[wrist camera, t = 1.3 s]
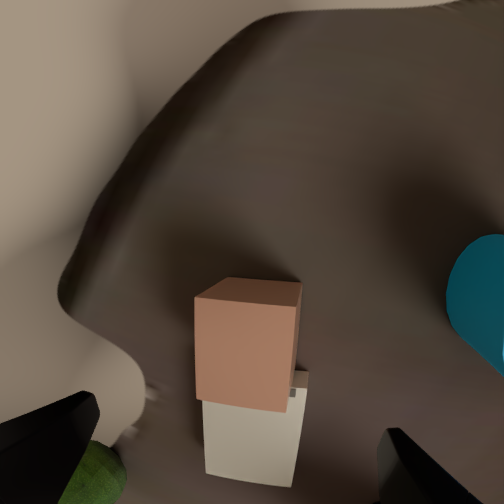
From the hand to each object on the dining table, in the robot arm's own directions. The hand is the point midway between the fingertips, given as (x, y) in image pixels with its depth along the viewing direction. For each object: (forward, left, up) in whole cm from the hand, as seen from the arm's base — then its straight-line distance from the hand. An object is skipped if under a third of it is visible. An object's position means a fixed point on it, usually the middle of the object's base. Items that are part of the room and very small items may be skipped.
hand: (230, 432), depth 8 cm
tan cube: (-1, +1, -13) cm, 13 cm away
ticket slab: (-9, +1, -13) cm, 16 cm away
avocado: (-19, +17, -14) cm, 29 cm away
